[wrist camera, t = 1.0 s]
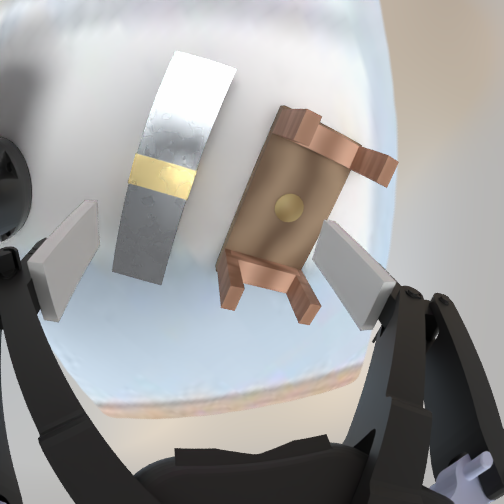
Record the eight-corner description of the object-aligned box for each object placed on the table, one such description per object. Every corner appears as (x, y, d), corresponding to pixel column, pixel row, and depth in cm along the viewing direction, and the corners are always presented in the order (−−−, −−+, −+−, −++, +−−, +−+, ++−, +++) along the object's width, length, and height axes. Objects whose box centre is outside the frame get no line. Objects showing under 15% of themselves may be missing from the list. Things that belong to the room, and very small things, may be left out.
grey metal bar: (167, 258, 36) (162, 285, 30) (123, 246, 34) (111, 271, 28) (232, 77, 26) (238, 69, 21) (180, 61, 24) (174, 50, 19)
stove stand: (215, 265, 37) (219, 311, 29) (280, 105, 29) (309, 103, 20) (287, 283, 41) (307, 327, 32) (356, 143, 32) (400, 158, 24)
